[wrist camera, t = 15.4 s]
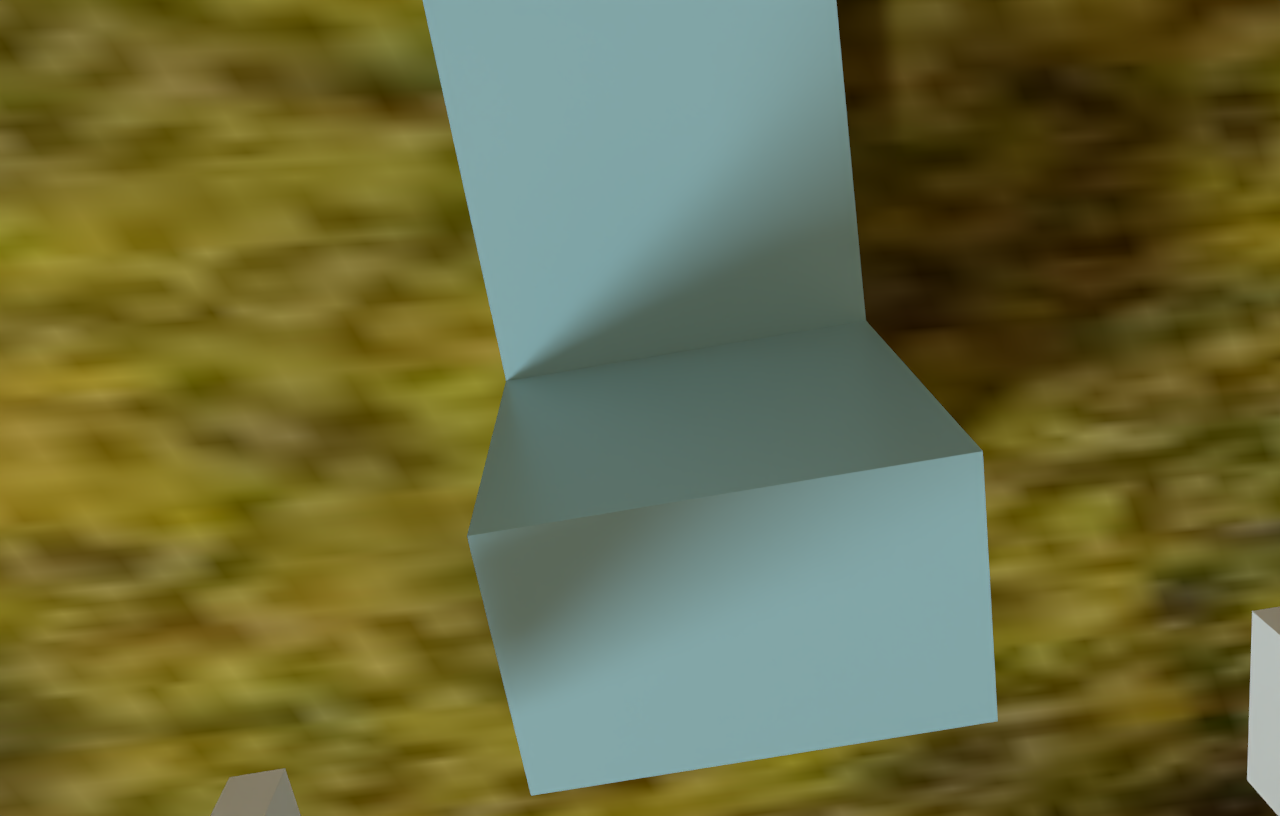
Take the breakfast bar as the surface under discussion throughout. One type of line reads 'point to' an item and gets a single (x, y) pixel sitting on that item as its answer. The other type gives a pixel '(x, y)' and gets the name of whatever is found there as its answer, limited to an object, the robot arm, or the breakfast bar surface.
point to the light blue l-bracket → (699, 400)
